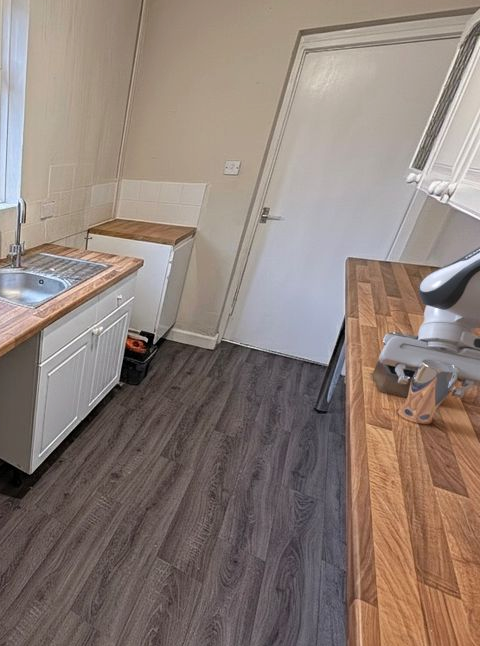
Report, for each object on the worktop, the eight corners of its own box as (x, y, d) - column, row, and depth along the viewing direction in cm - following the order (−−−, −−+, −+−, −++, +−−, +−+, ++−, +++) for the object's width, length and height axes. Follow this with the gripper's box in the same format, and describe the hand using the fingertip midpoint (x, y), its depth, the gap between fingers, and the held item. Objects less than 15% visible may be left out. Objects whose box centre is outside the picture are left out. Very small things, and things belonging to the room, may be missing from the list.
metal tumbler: (390, 413, 106) (415, 362, 100) (402, 406, 109) (427, 356, 103) (427, 428, 101) (456, 375, 95) (438, 420, 104) (467, 368, 98)
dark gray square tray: (425, 385, 119) (434, 368, 117) (438, 404, 110) (448, 386, 108) (372, 374, 125) (379, 357, 122) (379, 391, 116) (388, 373, 114)
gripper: (389, 324, 108) (375, 371, 105) (510, 348, 96) (498, 401, 93) (382, 335, 113) (368, 379, 110) (496, 358, 100) (484, 409, 98)
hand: (429, 389), depth 101 cm, fingers open, 8 cm apart
